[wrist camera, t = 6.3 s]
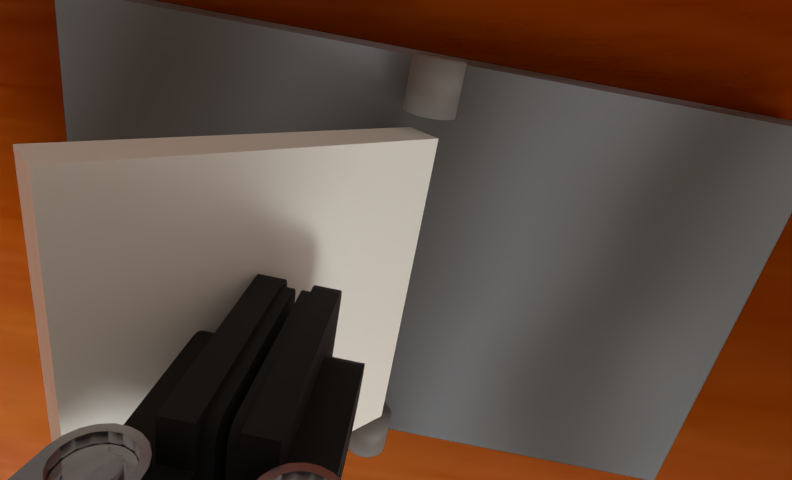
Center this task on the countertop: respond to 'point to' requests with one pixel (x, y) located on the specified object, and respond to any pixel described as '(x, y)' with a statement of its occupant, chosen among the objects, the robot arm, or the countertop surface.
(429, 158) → the tile
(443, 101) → the board
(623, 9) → the countertop surface
